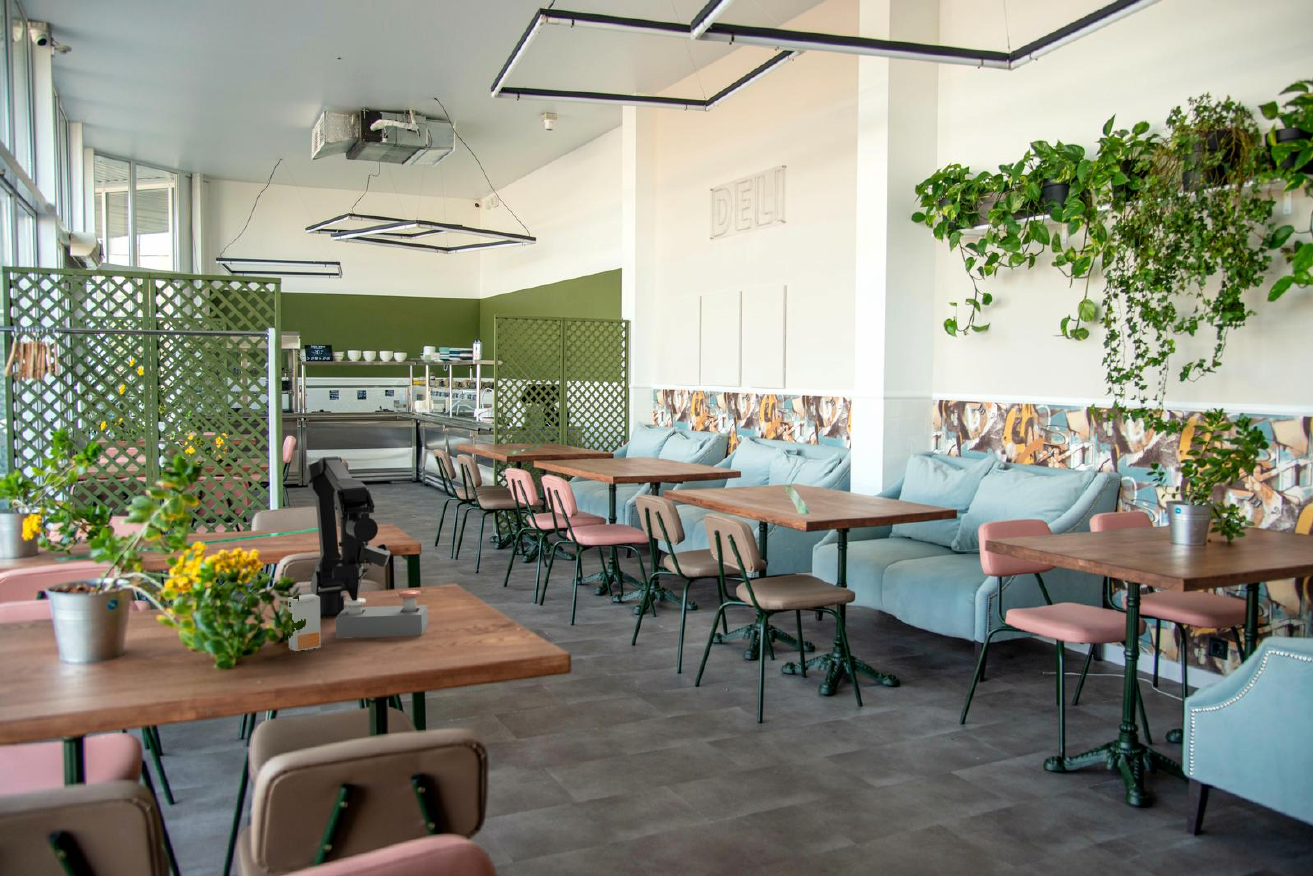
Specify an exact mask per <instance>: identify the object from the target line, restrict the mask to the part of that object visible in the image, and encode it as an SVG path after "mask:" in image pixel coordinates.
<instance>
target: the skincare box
mask: <svg viewBox="0 0 1313 876" xmlns="http://www.w3.org/2000/svg"><path fill="white" fill-rule="evenodd" d="M298 596H299V601H298V599H293V597H294V596H290V597H287V613H288V612H289V609H290V613H292V620H293V621H294V623H297V622H298V621H301V619H302V620H303V621H304V619H306V625H305V627H303V628H302V629H300V630H296V628H294V629H295V631H294V632H293V636H291V638H289V637H288V649H289V648H290V649H289V650H291V649H292V650H294V651H299V652H301V651H300V650H305V651H310V650H314V649H313V648H316V649H320V648H319V647H322V643H321V642H322V641H321V640H322V639H321V618H320V597H319V596H317V595H315V594H313V593H309V594H301V595H298ZM289 602H291V604H290V605H291V607H289ZM308 649H309V650H308ZM292 650H291V651H292ZM294 651H293V652H294Z"/></svg>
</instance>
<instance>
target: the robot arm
mask: <svg viewBox="0 0 1313 876" xmlns="http://www.w3.org/2000/svg"><path fill="white" fill-rule="evenodd" d="M304 471H305V472H304V481H305V483H306V484H307V488H308V492H309V493H310V494H311V496H312V497H313V498H314V499H315V505H316V506H315V507H316V517H317V518H316V520H317V530H318V541H319V543H318V544H319V552H320V555H319V557H318V559H317V560H316V563H315V565H314V571H313V575H312V576H311V581H310V592H311V594H315V595H317V596H319V597H320V619H322V618H336V617H337V616H338V615H339V614H340V613H341V612H342V611H343V610H344V609H345V608H347V606H346V605H344V601H345V600H347V597H346V595H344V594H345V593H344V592H347V593H348V595H349V597H350V599H352V600H353V601H356V600H357V599H358V598H359V594H360V589H361V585H362V581H363V577H364V576H365V575H366V574H367V572H369V571H370V568H364V565H365V564H369V566H373V565H377V566H378V567H381V568H384V567H386V565H387V564H388V561H389V559H390V556H391V550H389V548H388V546H389V545H388V544H386V543H384V542H383V543H380V544H379V545H378V546H376V545H370V544H369V543H370V541H372V540H374V538H376V536H377V534H378V530H379V527H378V524H377V522H376V521H375V520H374V519H373V518H371V517H370V514H374V513H375V503H374V500H373V497H372V495H371V493H370V490H369V489H368V488H367V486H366V485H365V484H364V483H363V482H362V481H360V480H357V479H353V477H352V475H350V473H349V471H348V470H347V468H346V467H345V465H344V464H343V459H342V457H341V456H340V457H339V456H323V457H320V458H319V460H317V461H315V462H314V463H311V464H309V465H308V466H307V467H306V469H305V470H304ZM336 509H337V512H338V515H339V521H340V522H339V526H340V527H339V528H340V530H339V531H340V541H339V540H338V528H337V518H336ZM339 548H340V550H339Z"/></svg>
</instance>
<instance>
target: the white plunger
mask: <svg viewBox="0 0 1313 876" xmlns="http://www.w3.org/2000/svg"><path fill="white" fill-rule="evenodd" d="M366 602H367V600H366V598H364V597H358V599H357V600H356V601H353V600H352V599H351V598H346V600H345V601H344V605H346V607H347V608H348V614H362V607H363V605H365V604H366Z"/></svg>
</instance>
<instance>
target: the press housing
mask: <svg viewBox="0 0 1313 876" xmlns="http://www.w3.org/2000/svg"><path fill="white" fill-rule="evenodd" d="M428 610H429V609H428V604H422V605H420V604H419V605H418V604H417V612H404V613H403V605H394V606H392V605H389V606H387V605H386V606H384V605H383V606H362V614H348V607H346V608H345V609H344V610H343V611H342V612H341V613H340V614H339V615H338V616H337V617H335V638H336V639H344V638H343V637H348V638H347V639H350V638H349V637H361V638H384V637H387V638H388V637H412V636H413V637H415V636H423V634H424V632H425V630H426V629H427V627H428V625H429V622H428V621H429V616H428V615H429V614H428V613H429V612H428Z"/></svg>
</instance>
